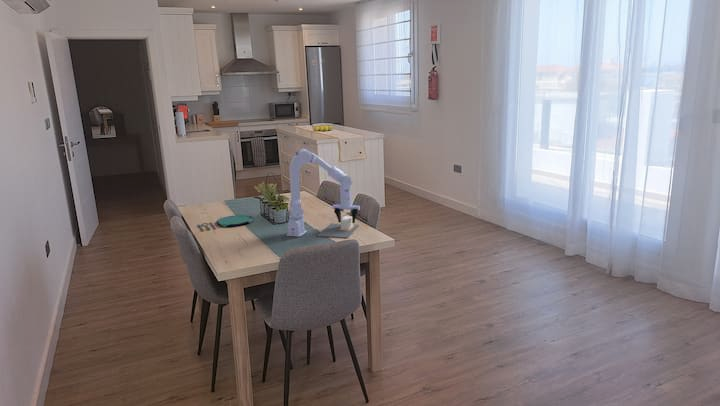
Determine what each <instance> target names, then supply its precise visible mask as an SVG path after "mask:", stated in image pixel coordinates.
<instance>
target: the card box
mask: <svg viewBox="0 0 720 406" xmlns="http://www.w3.org/2000/svg"><path fill="white" fill-rule="evenodd" d="M340 224H341V229H343V230H349V229H350V228H351V227H352V226H353V224H354V223H352V215H346V216H345V215H344V216H343V217H341V222H340Z"/></svg>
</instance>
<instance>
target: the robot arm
mask: <svg viewBox="0 0 720 406" xmlns="http://www.w3.org/2000/svg"><path fill="white" fill-rule="evenodd" d="M309 163H310V164H316V165H318V166H319V167H321V168H322V169H324V170H325V171H326V172H327V175H328V176H329V177H330V178H331V179H333V180H334V181H336V182H337V183H339V184H340V185H339V187H340V189H339V192H340V193H339V196H340V197H339V199H340V204H332V210H334V211H333V212H334V214H335V216H336V219H337V221H338V224H341V219H342V216H341V215H342V213H341V212H342V210H351V216H352V223H353V224H355V223H356V217H357V214H358V212H359V211H360V209H361V206H360V205H355V204H352V186H351V185H352V184H353V181H352V178H351V177H350V176H349V175H348V174H346V173H347V172H344V171H342V170H341V169H340V167H339V166H337V165H330V164H329V163H327V162H326V161H324V160H323V159H322V158H321V157H320V156H318V155H317V154H315V153H313V152H311V151H309V150H308V149H306V148H299V150H297V151H296V152H295V153H294V156H293V158H292V159H291V161H290V162H289V181H290V183H289V184H290V205H289V206H288V210H289V212H290V215H289V216H288V217H289V220H288V222H287V224H286V225H287V233H286V237H302V236H303V235H304V234H306V233H308V230H305V219H304V218H305V217H304V209H303V207H302V203H301V201H302V200H301V187H300V186H301V184H300V181H301V180H300V169H301V168H302V167H303V166H304V165H306V164H309Z"/></svg>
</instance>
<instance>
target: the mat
mask: <svg viewBox="0 0 720 406" xmlns="http://www.w3.org/2000/svg"><path fill="white" fill-rule="evenodd" d="M359 226H360V225H359V224H355V223H353V226H352V227H351V228H350V229H349V230H343V229H341V223H335V222H334V223H332V222H331V223H329V224H328V225H327V226H326V227H325V228H324V229H322V230H321V231H320V232H319V233H317V235H316V237H320V238H335V239H348V238H350V237H351V235H352V234H353V233H354V232H355V231H356V230H357V228H358V227H359Z"/></svg>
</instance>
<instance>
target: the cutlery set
mask: <svg viewBox="0 0 720 406" xmlns="http://www.w3.org/2000/svg"><path fill="white" fill-rule="evenodd" d="M252 222H253V217H252V216H250V215H249V214H235V215H228V216H223V217H220V218H218V219H216V223H217V225H219V226H222V227H223V228H227V227H228V226H229V227H231V226H232V227H233V226H239V225H243V224H247V223H252ZM209 224H210V225H211V227H212V228H214V230H217V228H216V227H215V225H214V224H213V222H210V221H209V223H207V222H205V223H202V224H197V225H196V226H197V228H199V229H200V230H201V231H202V232H204V230H205V229H204V228H203V227H206V228H207V229H208V231H210V230H211V228H210V227H209Z"/></svg>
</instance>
